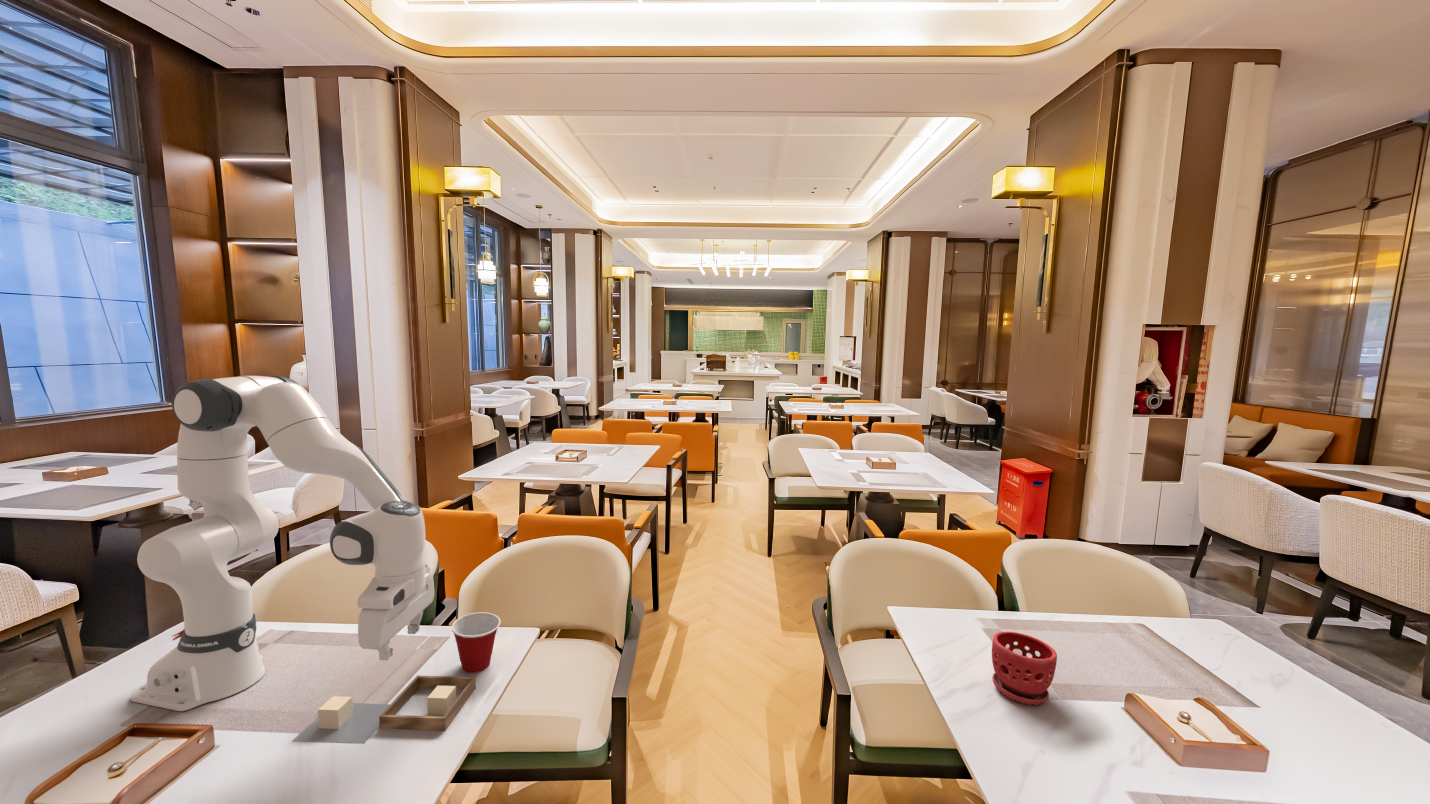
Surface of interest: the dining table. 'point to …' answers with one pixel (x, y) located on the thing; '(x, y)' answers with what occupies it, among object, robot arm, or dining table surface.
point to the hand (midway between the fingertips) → (400, 644)
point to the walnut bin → (427, 722)
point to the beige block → (441, 699)
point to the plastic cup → (475, 639)
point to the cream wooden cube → (335, 712)
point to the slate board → (347, 726)
